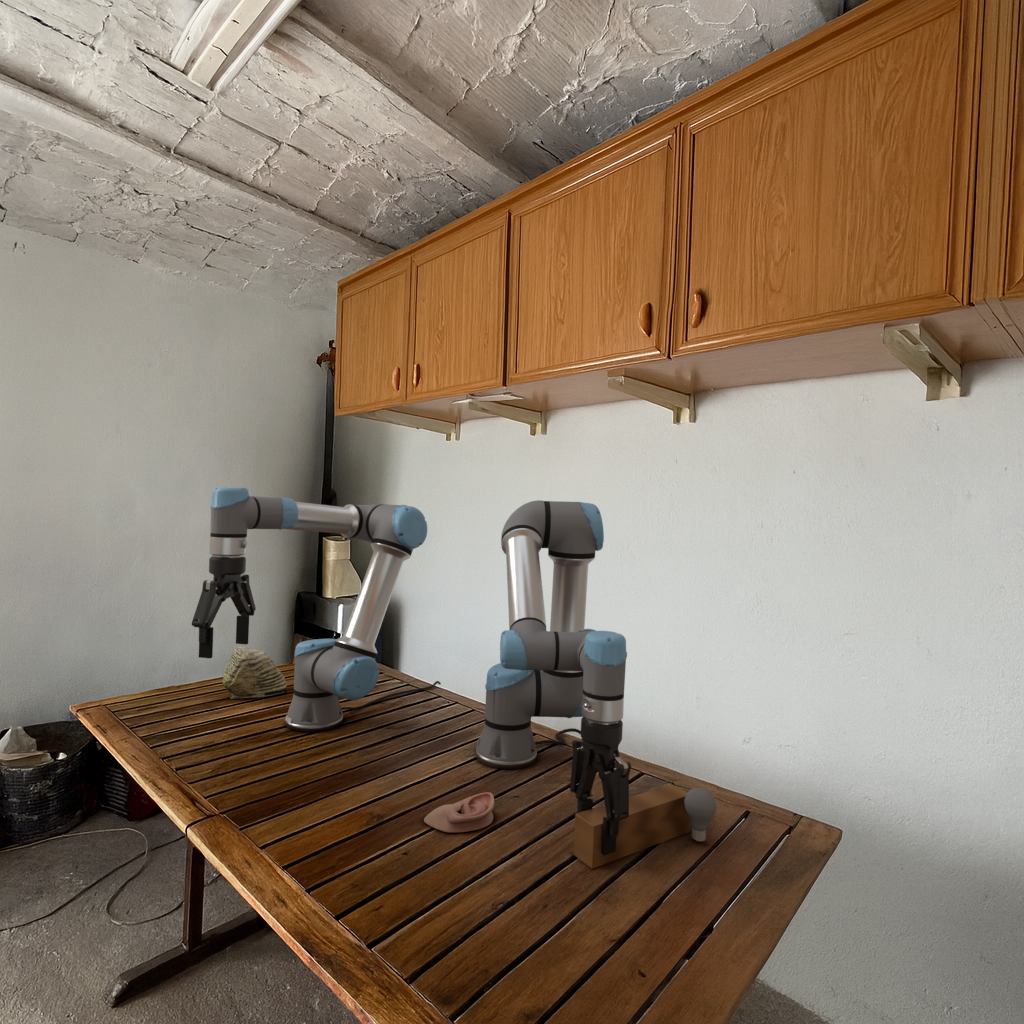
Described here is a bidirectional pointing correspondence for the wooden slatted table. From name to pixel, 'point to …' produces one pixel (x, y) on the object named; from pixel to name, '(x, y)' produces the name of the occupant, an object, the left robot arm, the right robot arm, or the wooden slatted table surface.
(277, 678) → the fossil
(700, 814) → the light bulb
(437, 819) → the anatomical model
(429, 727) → the wooden slatted table surface
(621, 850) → the bar
